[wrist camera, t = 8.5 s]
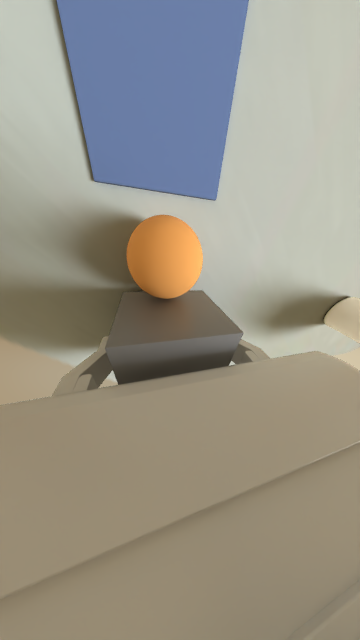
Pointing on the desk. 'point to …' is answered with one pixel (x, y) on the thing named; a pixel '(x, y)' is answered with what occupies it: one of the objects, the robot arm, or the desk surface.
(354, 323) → the white cup
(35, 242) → the desk surface
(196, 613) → the robot arm
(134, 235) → the orange egg
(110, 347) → the block
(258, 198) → the desk surface
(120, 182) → the tape mark
